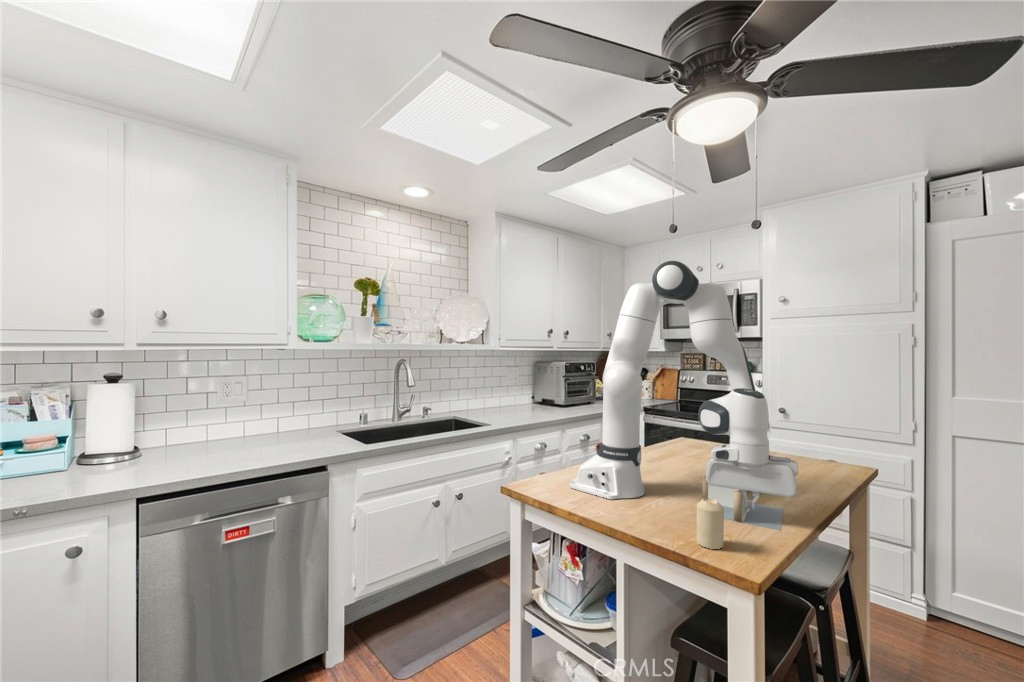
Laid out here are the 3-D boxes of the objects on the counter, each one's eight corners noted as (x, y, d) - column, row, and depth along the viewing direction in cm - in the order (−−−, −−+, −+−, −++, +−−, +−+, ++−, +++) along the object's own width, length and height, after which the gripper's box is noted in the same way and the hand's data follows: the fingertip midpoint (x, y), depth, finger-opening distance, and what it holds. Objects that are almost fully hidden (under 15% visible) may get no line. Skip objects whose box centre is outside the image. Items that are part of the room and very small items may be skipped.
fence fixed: (701, 502, 124) (701, 477, 124) (702, 500, 126) (703, 475, 126) (746, 511, 118) (747, 485, 118) (747, 509, 119) (747, 483, 119)
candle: (715, 552, 95) (715, 506, 95) (691, 543, 99) (692, 498, 100) (728, 545, 98) (728, 501, 98) (705, 536, 103) (705, 494, 103)
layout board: (696, 514, 116) (696, 512, 116) (708, 495, 131) (708, 494, 131) (780, 531, 106) (780, 530, 106) (783, 509, 120) (783, 508, 120)
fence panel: (738, 508, 119) (739, 483, 119) (746, 510, 118) (746, 484, 118) (733, 519, 111) (733, 492, 111) (741, 521, 110) (741, 493, 110)
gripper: (797, 455, 109) (798, 512, 109) (708, 446, 120) (709, 497, 120) (798, 461, 104) (799, 520, 103) (704, 451, 115) (705, 504, 114)
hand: (750, 508), depth 112 cm, fingers closed
